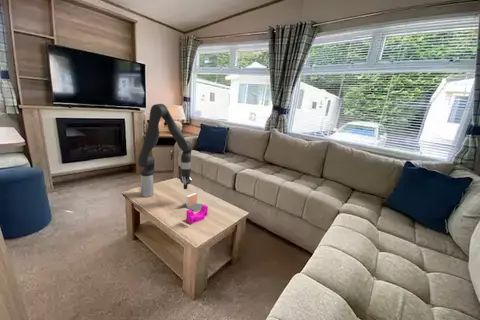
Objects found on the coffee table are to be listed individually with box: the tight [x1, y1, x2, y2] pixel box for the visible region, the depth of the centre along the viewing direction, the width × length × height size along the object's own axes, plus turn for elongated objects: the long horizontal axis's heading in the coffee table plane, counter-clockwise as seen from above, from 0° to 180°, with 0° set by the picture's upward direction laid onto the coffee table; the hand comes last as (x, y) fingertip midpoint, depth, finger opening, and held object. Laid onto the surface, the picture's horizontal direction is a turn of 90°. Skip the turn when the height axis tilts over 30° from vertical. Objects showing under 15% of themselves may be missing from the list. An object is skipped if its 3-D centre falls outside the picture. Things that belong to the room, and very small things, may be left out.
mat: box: [182, 203, 204, 213], centre depth 166 cm, size 14×12×1 cm
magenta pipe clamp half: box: [185, 204, 209, 225], centre depth 147 cm, size 15×6×8 cm, turn 137°
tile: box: [185, 192, 198, 207], centre depth 167 cm, size 2×9×8 cm, turn 147°
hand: (185, 188), depth 168 cm, fingers closed
